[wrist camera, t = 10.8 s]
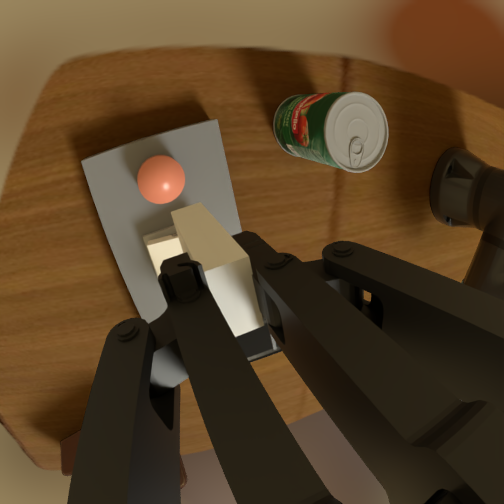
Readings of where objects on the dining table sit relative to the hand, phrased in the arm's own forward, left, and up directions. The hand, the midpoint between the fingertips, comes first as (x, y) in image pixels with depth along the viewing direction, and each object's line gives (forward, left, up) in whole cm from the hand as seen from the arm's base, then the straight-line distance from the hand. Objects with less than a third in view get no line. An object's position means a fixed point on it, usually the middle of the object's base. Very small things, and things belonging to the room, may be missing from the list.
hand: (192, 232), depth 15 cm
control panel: (0, +8, -20) cm, 22 cm away
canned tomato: (-18, -1, -20) cm, 27 cm away
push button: (0, 0, -20) cm, 20 cm away
